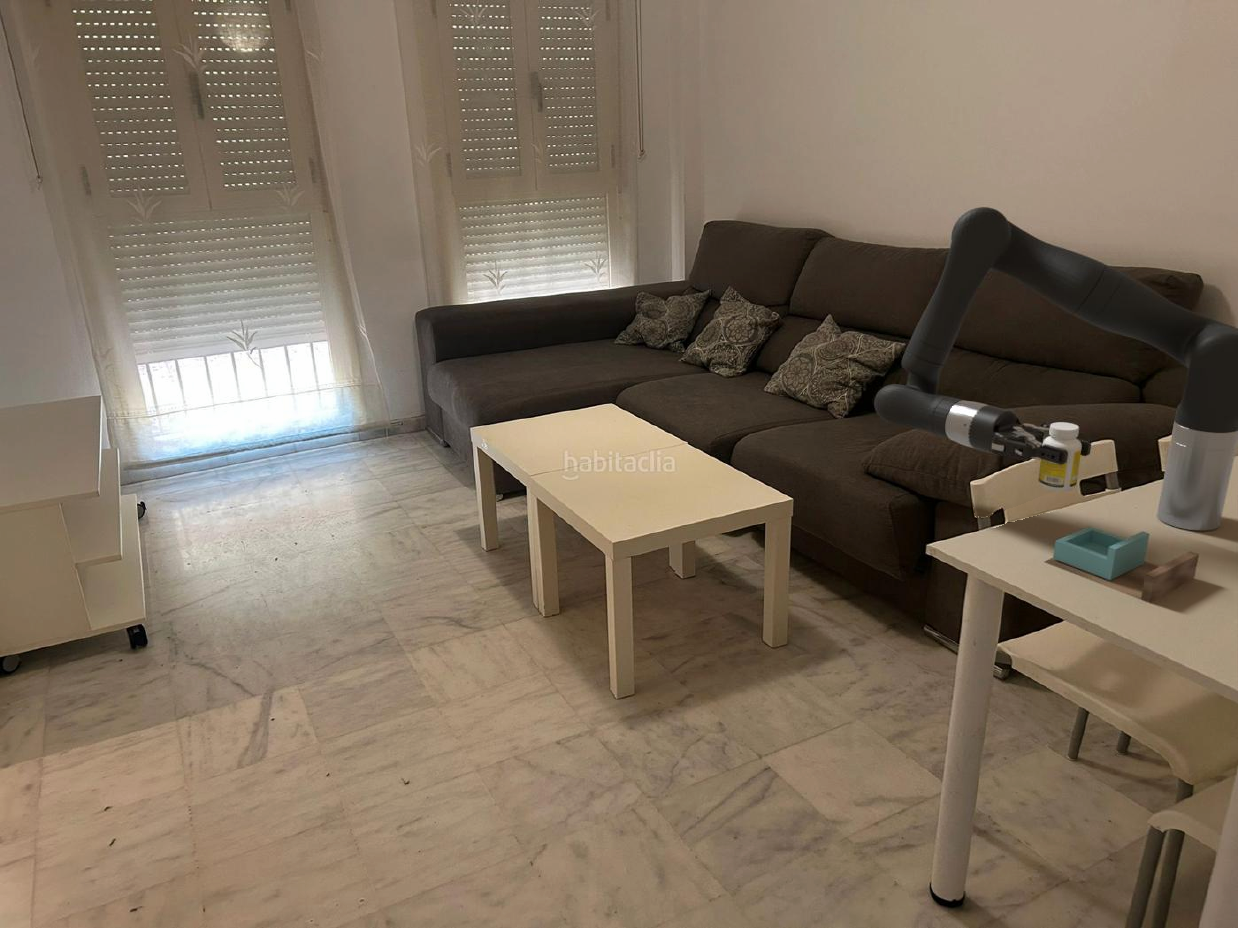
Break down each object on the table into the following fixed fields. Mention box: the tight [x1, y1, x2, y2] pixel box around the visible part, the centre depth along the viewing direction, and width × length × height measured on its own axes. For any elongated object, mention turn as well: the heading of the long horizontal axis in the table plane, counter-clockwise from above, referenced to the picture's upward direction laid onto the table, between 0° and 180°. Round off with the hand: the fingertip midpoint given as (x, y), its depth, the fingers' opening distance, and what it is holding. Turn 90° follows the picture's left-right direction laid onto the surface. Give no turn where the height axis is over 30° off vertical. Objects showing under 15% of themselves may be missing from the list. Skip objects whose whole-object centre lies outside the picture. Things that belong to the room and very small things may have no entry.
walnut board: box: [1043, 550, 1200, 604], centre depth 133 cm, size 12×16×6 cm
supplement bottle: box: [1037, 421, 1082, 492], centre depth 138 cm, size 5×5×10 cm
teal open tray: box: [1052, 525, 1150, 580], centre depth 135 cm, size 9×9×5 cm
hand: (1077, 453), depth 135 cm, fingers closed on supplement bottle, 5 cm apart
